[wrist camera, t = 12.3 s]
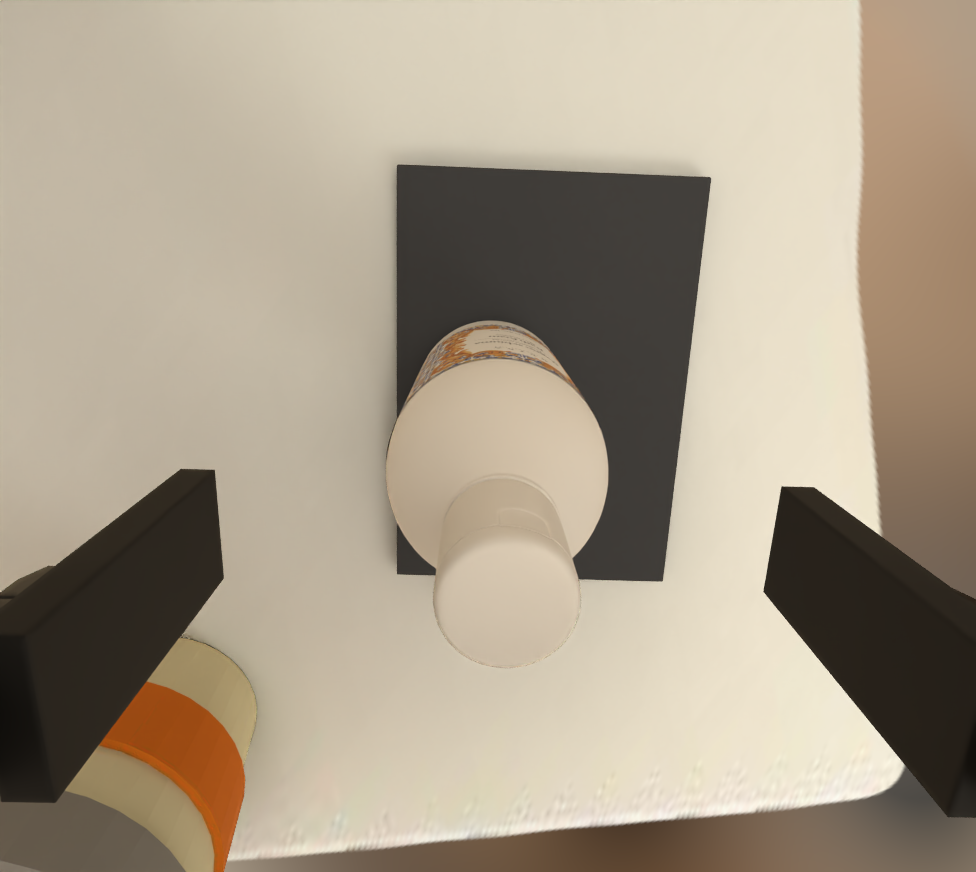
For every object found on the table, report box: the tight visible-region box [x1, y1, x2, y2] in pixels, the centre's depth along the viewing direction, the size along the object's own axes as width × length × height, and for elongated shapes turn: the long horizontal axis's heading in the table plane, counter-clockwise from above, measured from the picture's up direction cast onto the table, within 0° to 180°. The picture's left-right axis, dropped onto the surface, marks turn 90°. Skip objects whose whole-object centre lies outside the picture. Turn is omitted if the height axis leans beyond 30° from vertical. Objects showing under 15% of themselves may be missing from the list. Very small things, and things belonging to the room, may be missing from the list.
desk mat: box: [397, 165, 711, 581], centre depth 32 cm, size 20×14×1 cm
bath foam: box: [386, 321, 608, 668], centre depth 22 cm, size 7×7×20 cm
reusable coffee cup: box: [0, 638, 257, 872], centre depth 30 cm, size 13×12×15 cm
